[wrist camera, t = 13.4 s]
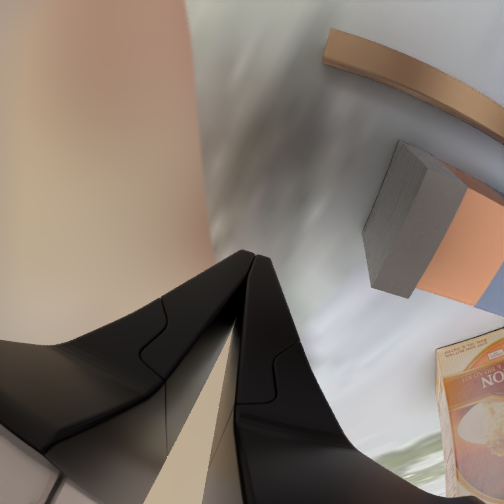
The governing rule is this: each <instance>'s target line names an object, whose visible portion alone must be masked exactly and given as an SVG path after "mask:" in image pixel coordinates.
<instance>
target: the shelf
mask: <svg viewBox="0 0 504 504" xmlns="http://www.w3.org/2000/svg"><path fill="white" fill-rule="evenodd" d="M323 64H326V65H330V66H333V67H336V68H340V69H343V70H346V71H349V72H352V73H355V74H358V75H361V76H363V77H366V78H369V79H372V80H374V81H377V82H380V83H382V84H385V85H387V86H390V87H392V88H395V89H397V90H400V91H402V92H404V93H407V94H409V95H411V96H414V97H416V98H418V99H420V100H423V101H425V102H427V103H429V104H431V105H433V106H435V107H437V108H439V109H441V110H443V111H445V112H447V113H449V114H451V115H453V116H455V117H457V118H459V119H461V120H462V121H464V122H466V123H468V124H470V125H471V126H473V127H475V128H477V129H478V130H480V131H482V132H484V133H485V134H487V135H489V136H490V137H492V138H493V139H495V140H497V141H498V142H500V143H501V144H503V145H504V108H503V107H502V106H500V105H499V104H497V103H496V102H494V101H493V100H491V99H489V98H488V97H486V96H485V95H483V94H481V93H480V92H478V91H476V90H475V89H473V88H471V87H470V86H468V85H466V84H464V83H463V82H461V81H459V80H457V79H455V78H453V77H452V76H450V75H448V74H446V73H444V72H442V71H440V70H438V69H436V68H434V67H432V66H430V65H428V64H426V63H423V62H421V61H419V60H417V59H415V58H412V57H410V56H408V55H406V54H403V53H401V52H398V51H396V50H393V49H391V48H388V47H386V46H383V45H381V44H378V43H375V42H373V41H370V40H367V39H364V38H361V37H358V36H355V35H352V34H349V33H346V32H343V31H339V30H336V29H332V28H331V29H330V33H329V37H328V41H327V44H326V48H325V52H324V56H323Z"/></svg>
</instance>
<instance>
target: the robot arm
mask: <svg viewBox="0 0 504 504" xmlns="http://www.w3.org/2000/svg"><path fill="white" fill-rule="evenodd" d="M234 323H235V324H234ZM233 325H234V328H233ZM232 328H233V332H232V337H231V343H230V349H229V354H228V360H227V365H226V370H225V376H224V382H223V387H222V393H221V398H220V404H219V410H218V415H217V421H216V427H215V433H214V438H213V443H212V449H211V455H210V461H209V466H208V472H207V478H206V483H205V489H204V495H203V501H202V504H486V503H485V502H483V501H482V500H480V499H479V498H478V497H476V496H471V495H469V496H461V497H454V498H446V497H440V496H436V495H433V494H430V493H427V492H425V491H423V490H421V489H419V488H417V487H416V486H414V485H412V484H411V483H409V482H407V481H406V480H404V479H402V478H401V477H399V476H397V475H396V474H394V473H392V472H391V471H389V470H388V469H386V468H384V467H383V466H381V465H380V464H378V463H376V462H375V461H373V460H372V459H370V458H369V457H367V456H366V455H364V454H363V453H361V452H360V451H359V450H357V449H356V448H355V447H354V446H353V445H352V443H351V442H350V441H349V440H348V438H347V437H346V435H345V434H344V432H343V430H342V429H341V427H340V425H339V423H338V421H337V419H336V417H335V415H334V413H333V411H332V409H331V408H330V406H329V404H328V402H327V400H326V398H325V396H324V394H323V392H322V390H321V388H320V386H319V384H318V382H317V380H316V378H315V376H314V374H313V372H312V370H311V367H310V365H309V362H308V360H307V357H306V354H305V352H304V349H303V346H302V343H301V342H300V338H299V335H298V332H297V330H296V327H295V324H294V321H293V319H292V316H291V313H290V310H289V307H288V305H287V302H286V299H285V296H284V294H283V291H282V288H281V286H280V283H279V280H278V277H277V275H276V272H275V269H274V267H273V264H272V261H271V259H270V258H269V257H266V256H262V255H259V254H257V255H256V256H255V254H254V253H252V252H249V251H246V250H239V251H238V252H236V253H234V254H232V255H231V256H229V257H227V258H226V259H224V260H222V261H221V262H219V263H217V264H215V265H214V266H212V267H210V268H209V269H207V270H205V271H204V272H202V273H200V274H198V275H197V276H195V277H193V278H192V279H190V280H188V281H187V282H185V283H183V284H182V285H180V286H178V287H176V288H175V289H173V290H171V291H170V292H168V293H166V294H165V295H163V296H161V298H158V299H156V300H154V301H153V302H151V303H149V304H148V305H146V306H144V307H142V308H140V309H138V310H137V311H135V312H133V313H131V314H129V315H127V316H125V317H123V318H121V319H118V320H116V321H114V322H112V323H110V324H108V325H105V326H103V327H101V328H98V329H96V330H94V331H92V332H89V333H87V334H85V335H82V336H80V337H78V338H76V339H73V340H71V341H68V342H65V343H61V344H57V345H35V344H27V343H18V342H11V341H5V340H0V504H143V502H144V500H145V499H146V497H147V495H148V493H149V491H150V489H151V487H152V485H153V484H154V482H155V480H156V478H157V476H158V474H159V472H160V470H161V468H162V466H163V465H164V463H165V461H166V459H167V456H168V455H169V453H170V451H171V449H172V447H173V445H174V443H175V441H176V439H177V437H178V435H179V433H180V432H181V430H182V428H183V426H184V424H185V422H186V420H187V418H188V416H189V414H190V412H191V410H192V408H193V406H194V404H195V402H196V400H197V398H198V396H199V394H200V392H201V390H202V388H203V386H204V384H205V383H206V380H207V379H208V377H209V375H210V373H211V371H212V369H213V367H214V364H215V363H216V361H217V358H218V356H219V355H220V353H221V351H222V349H223V346H224V344H225V342H226V340H227V339H228V337H229V335H230V332H231V330H232Z"/></svg>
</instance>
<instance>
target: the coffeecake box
mask: <svg viewBox="0 0 504 504" xmlns="http://www.w3.org/2000/svg"><path fill="white" fill-rule="evenodd" d="M435 391H436V398H437V404H438V411H439V418H440V425H441V433H442V442H443V452H444V463H445V479H446V498H454V497H461V496H469V495H471V496H476V497H478V498H479V499H480V500H482V501H483V502H485V503H486V504H504V328H503V329H500V330H497V331H494V332H491V333H488V334H485V335H482V336H479V337H476V338H473V339H470V340H467V341H464V342H460V343H457V344H454V345H451V346H447V347H443V348H440V349H437V350H436V384H435Z"/></svg>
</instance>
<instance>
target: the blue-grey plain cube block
mask: <svg viewBox="0 0 504 504" xmlns="http://www.w3.org/2000/svg"><path fill="white" fill-rule="evenodd" d="M492 189H493V188H492ZM493 190H494V189H493ZM494 191H496V190H494ZM496 192H497V193H498V194H499V195H500V196H501V197H502V198H503V199H504V195H503V194H501V193H500V192H498V191H496ZM474 307H476V308H479V309H482V310H485V311H488V312H491V313H494V314H497V315H500V316H503V317H504V262H503V263H502V265H501V267H500V268H499V270H498V271H497V273H496V275H495V276H494V278H493V279H492V281H491V282H490V284H489V286H488V287H487V289H486V290H485V292H484V293H483V295H482V296H481V297H480V299H479V300H478V302H477V303H476V305H475V306H474Z"/></svg>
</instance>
